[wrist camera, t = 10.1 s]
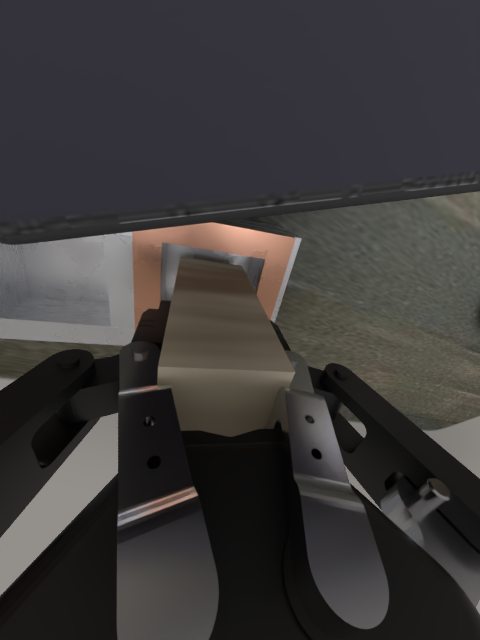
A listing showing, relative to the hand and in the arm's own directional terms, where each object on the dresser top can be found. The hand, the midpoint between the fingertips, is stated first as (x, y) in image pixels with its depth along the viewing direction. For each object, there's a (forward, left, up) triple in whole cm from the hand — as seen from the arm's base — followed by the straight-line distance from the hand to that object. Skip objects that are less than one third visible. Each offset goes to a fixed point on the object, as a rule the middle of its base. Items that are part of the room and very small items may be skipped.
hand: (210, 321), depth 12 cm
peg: (0, 0, -4) cm, 4 cm away
